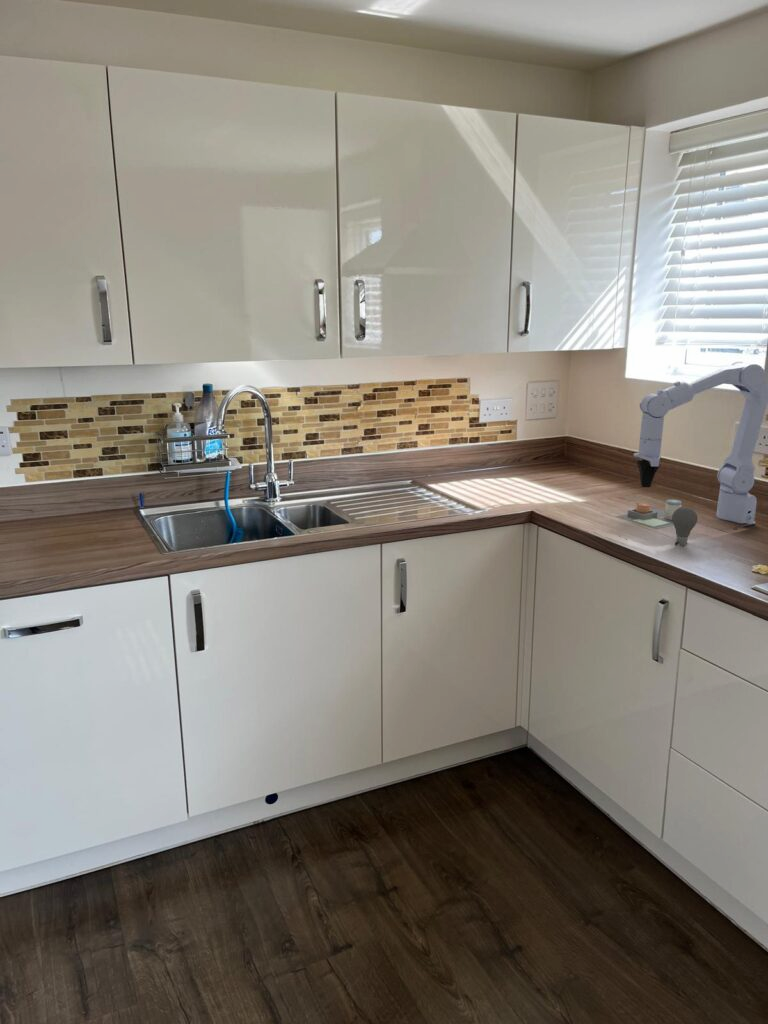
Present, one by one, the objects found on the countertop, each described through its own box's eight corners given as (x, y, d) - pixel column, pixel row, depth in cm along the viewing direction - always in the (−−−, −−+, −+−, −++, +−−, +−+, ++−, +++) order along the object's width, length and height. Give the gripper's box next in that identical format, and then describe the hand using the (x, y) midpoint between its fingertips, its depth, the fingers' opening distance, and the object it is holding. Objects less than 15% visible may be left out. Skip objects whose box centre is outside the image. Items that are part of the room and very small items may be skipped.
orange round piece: (651, 515, 213) (653, 505, 213) (643, 517, 212) (644, 507, 211) (641, 512, 216) (642, 502, 216) (633, 514, 214) (634, 504, 214)
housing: (696, 524, 212) (697, 514, 211) (656, 533, 203) (657, 523, 202) (654, 512, 223) (655, 503, 222) (614, 520, 214) (615, 511, 213)
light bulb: (688, 541, 196) (692, 503, 194) (698, 548, 190) (703, 510, 188) (665, 541, 196) (669, 503, 193) (674, 548, 190) (679, 510, 188)
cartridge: (682, 522, 213) (684, 502, 212) (673, 524, 211) (675, 503, 210) (670, 519, 216) (672, 498, 215) (661, 521, 214) (663, 500, 213)
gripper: (630, 433, 215) (625, 480, 219) (642, 442, 202) (636, 492, 205) (655, 434, 215) (650, 481, 218) (669, 443, 201) (663, 493, 205)
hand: (645, 486), depth 212 cm, fingers closed
